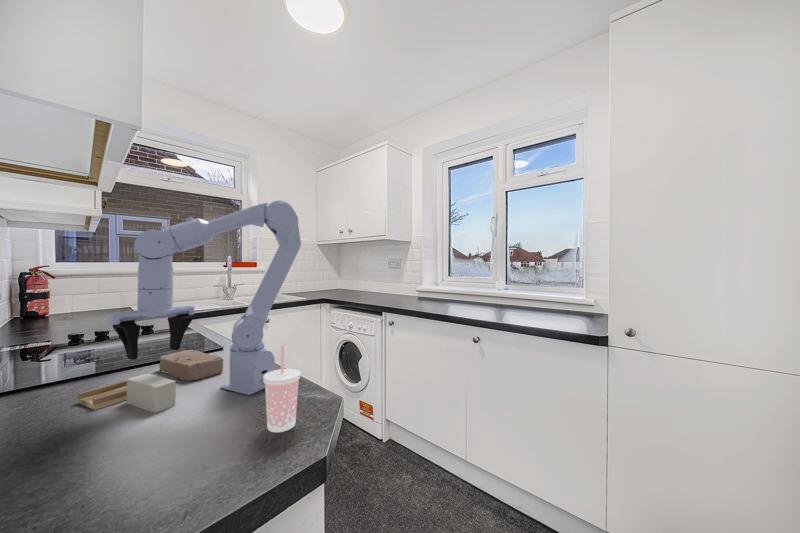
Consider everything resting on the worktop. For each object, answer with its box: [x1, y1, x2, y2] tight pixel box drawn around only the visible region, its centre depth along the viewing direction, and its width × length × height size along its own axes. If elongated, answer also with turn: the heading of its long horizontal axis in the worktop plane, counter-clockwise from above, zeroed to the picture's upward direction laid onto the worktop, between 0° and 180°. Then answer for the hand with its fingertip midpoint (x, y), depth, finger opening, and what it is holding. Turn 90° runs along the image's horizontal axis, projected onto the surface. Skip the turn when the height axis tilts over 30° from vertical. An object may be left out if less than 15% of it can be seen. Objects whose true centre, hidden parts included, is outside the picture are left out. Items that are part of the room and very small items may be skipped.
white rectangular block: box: [126, 373, 177, 414], centre depth 61 cm, size 10×4×5 cm, turn 66°
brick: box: [159, 349, 224, 382], centre depth 80 cm, size 17×8×5 cm, turn 60°
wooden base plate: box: [77, 379, 127, 411], centre depth 64 cm, size 7×11×2 cm, turn 156°
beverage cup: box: [263, 344, 301, 433], centre depth 53 cm, size 6×6×14 cm
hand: (154, 353), depth 63 cm, fingers open, 7 cm apart
